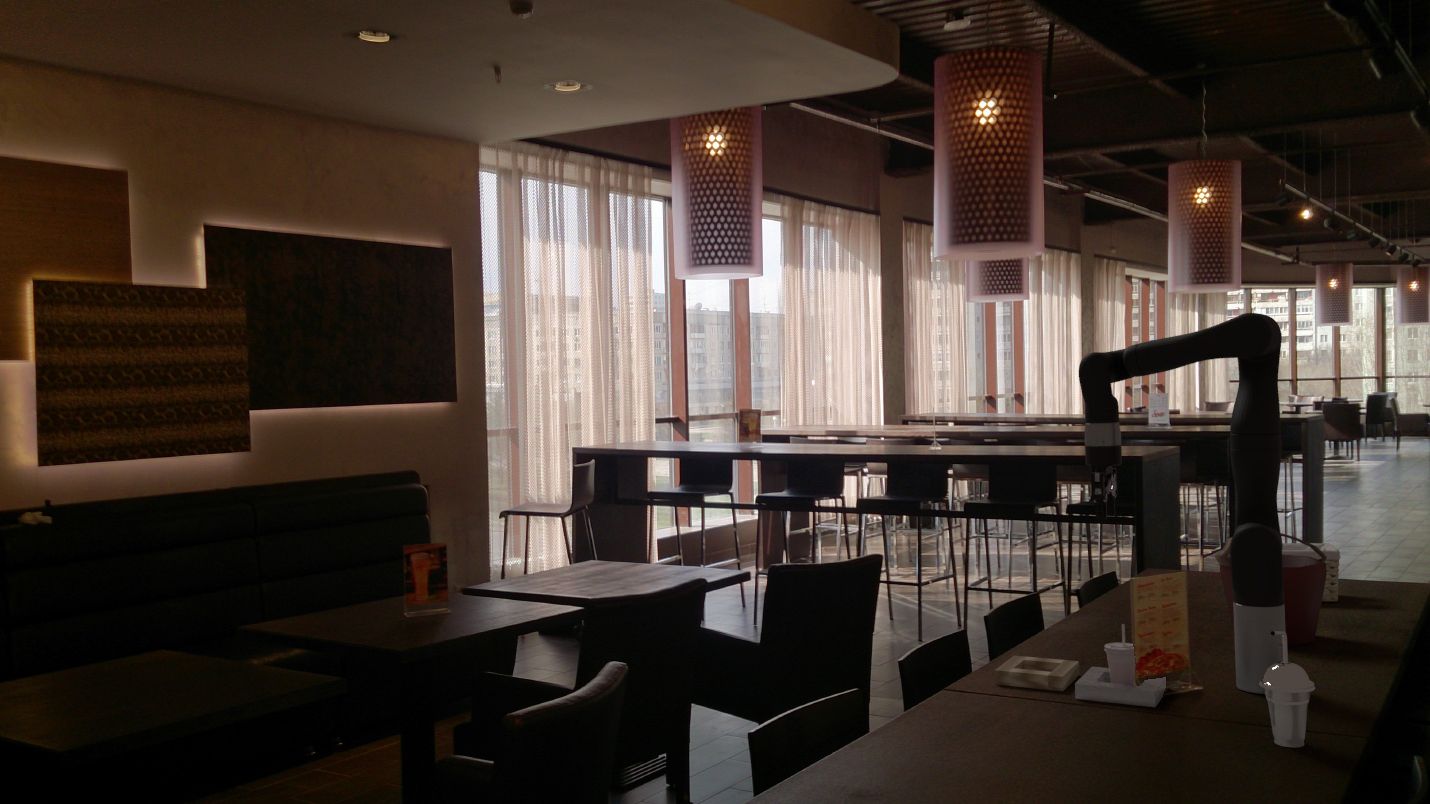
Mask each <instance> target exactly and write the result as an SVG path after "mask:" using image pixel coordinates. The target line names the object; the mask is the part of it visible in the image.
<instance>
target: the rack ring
mask: <svg viewBox="0 0 1430 804" xmlns="http://www.w3.org/2000/svg"><path fill="white" fill-rule="evenodd" d="M1165 688H1166V677H1163V678H1156V679H1148V680H1144V682H1143V683H1142V684H1141V685H1140V686H1137V685H1127V684H1116V683H1111V677H1110V671H1109V667H1104V666H1103V667H1102V666H1101V667H1100V666H1091V667H1090V668H1089V669H1088V670H1087V671H1086V672H1085V673H1084V674H1083V675H1081V677H1080V678H1079V679H1078V680H1077V681H1076V682H1075V683H1074V689H1075V690H1074V696H1075V698H1074V699H1075V700H1083V701H1092V702H1101V703H1109V704H1110V703H1111V704H1119V705H1120V704H1121V705H1131V706H1140V707H1141V706H1142V707H1149V708H1156V707H1157V706H1158V704H1159V703H1160V701H1161V700H1162V698H1163V697H1164V696H1163V694H1164V691H1165ZM1164 695H1165V694H1164Z"/></svg>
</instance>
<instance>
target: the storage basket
mask: <svg viewBox="0 0 1430 804" xmlns="http://www.w3.org/2000/svg"><path fill="white" fill-rule="evenodd" d="M1282 543H1283V548H1282V554H1283V555H1296V556H1310V557H1313V558H1315V559H1318V558H1320V556H1319V555H1318V554H1317V553H1316V552H1315V551H1314V550H1313V549H1312V548H1311V547H1309V546H1307V545H1305V544H1302V543H1300V542H1293V543H1292V542H1290V543H1288V542H1285V543H1284V542H1282ZM1309 543H1310V544H1312V545H1315V546H1316V547H1317V548H1319V549H1320V550H1321V551H1322V552H1323V553H1324V554H1325V555H1326V556H1327V559H1326V561H1325V563H1326V574H1327V576H1326V581H1325V587H1324V592H1323V598H1322V602H1324V603H1326V602H1338V601H1339V571H1340V568H1339V566H1340V560H1341V551H1340V550H1339V548H1338V547H1336V546H1334V545H1333V544H1331V543H1329V542H1323V543H1316V542H1309Z"/></svg>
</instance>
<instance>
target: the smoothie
mask: <svg viewBox="0 0 1430 804" xmlns="http://www.w3.org/2000/svg"><path fill="white" fill-rule="evenodd" d="M1121 640H1122V641H1121V642H1109V643H1106V644H1104V652H1106V657H1107V664H1108V668H1109V671H1110V677H1111V683H1116V684H1127V685H1134V675H1135V670H1136V664H1135V657H1136V658H1137V655H1136V656H1134V654H1135V653H1136V652H1135V653H1134V647H1133V643H1130V642H1126V625H1125V624H1124V623H1122V624H1121ZM1136 654H1137V653H1136Z"/></svg>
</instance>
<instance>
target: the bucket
mask: <svg viewBox="0 0 1430 804" xmlns="http://www.w3.org/2000/svg"><path fill="white" fill-rule="evenodd" d="M1280 533H1281V532H1280ZM1281 537H1284V538H1286V539H1287V538H1288V539H1291V540H1294V541H1296V542H1297V543H1302V544H1305V545H1307V546H1309V547H1311V548H1312V549H1313V550H1314V551H1315V552H1316V553H1317V554H1318V555H1319V556H1320V558H1318V559H1315V558H1313V557H1310V556H1296V555H1283V554H1282V565H1283V586H1284V607H1285V633H1286V635H1287V646H1298V645H1299V646H1300V645H1303V644H1307V643H1312V642H1315V640H1316V635H1317V629H1318V624H1319V619H1320V615H1321V613H1320V612H1321V608H1322V602H1323V601H1322V598H1323V592H1324V587H1325V581H1326V576H1327V574H1326V563H1325V561H1326V559H1327V556H1326V555H1325V554H1324V553H1323V552H1322V551H1321V550H1320V549H1319V548H1317V547H1316V546H1315V545H1312V544H1310V543H1311V542H1307V541H1305V540H1304V539H1301V538H1297V537H1295V536H1291V535H1289V534H1286V533H1283V532H1282V533H1281ZM1231 539H1232V537H1229V538H1227V540H1226V541H1225V545H1224V546H1223V549H1221V550H1218V551H1217V552H1216V553H1215V554H1214V558H1215V560H1216V561H1217V563H1218V564H1219V574H1220V580H1221V582H1222V583H1221V584H1222V587H1223V592H1224V595H1225V599H1226V602H1227V608H1228V611H1229V616H1230V620H1231V624H1232V628H1233V629H1234V608H1233V602H1234V601H1233V591H1232V580H1231V560H1230V544H1231Z"/></svg>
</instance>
